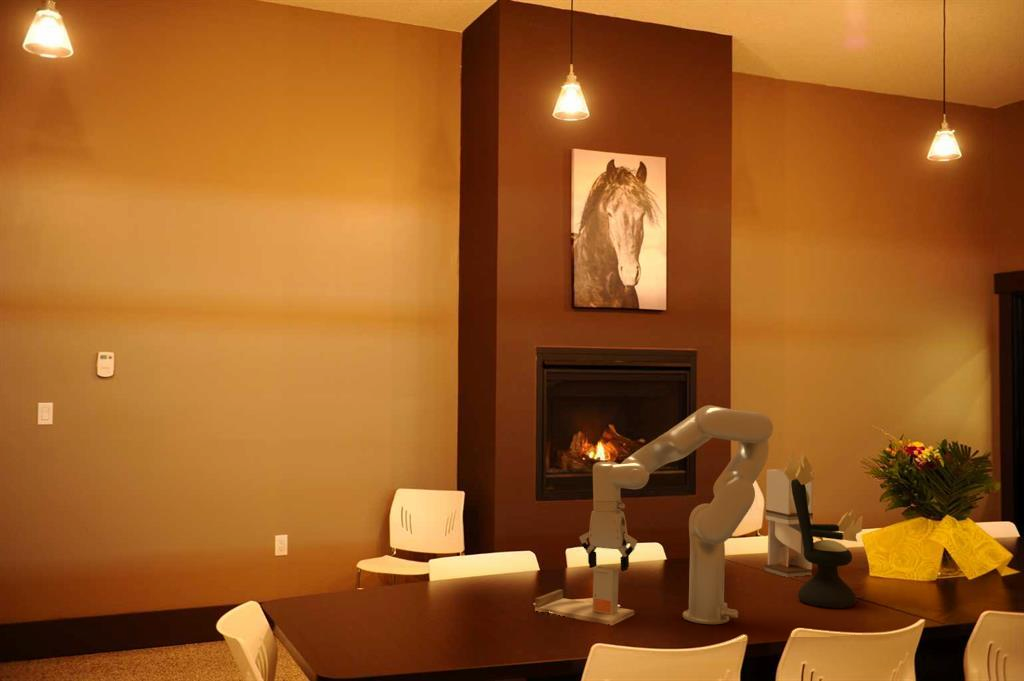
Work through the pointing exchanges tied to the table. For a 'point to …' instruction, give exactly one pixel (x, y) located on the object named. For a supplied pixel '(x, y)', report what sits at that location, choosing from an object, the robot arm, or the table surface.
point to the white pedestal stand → (785, 527)
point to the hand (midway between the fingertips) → (608, 568)
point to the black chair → (822, 544)
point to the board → (577, 609)
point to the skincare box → (605, 590)
